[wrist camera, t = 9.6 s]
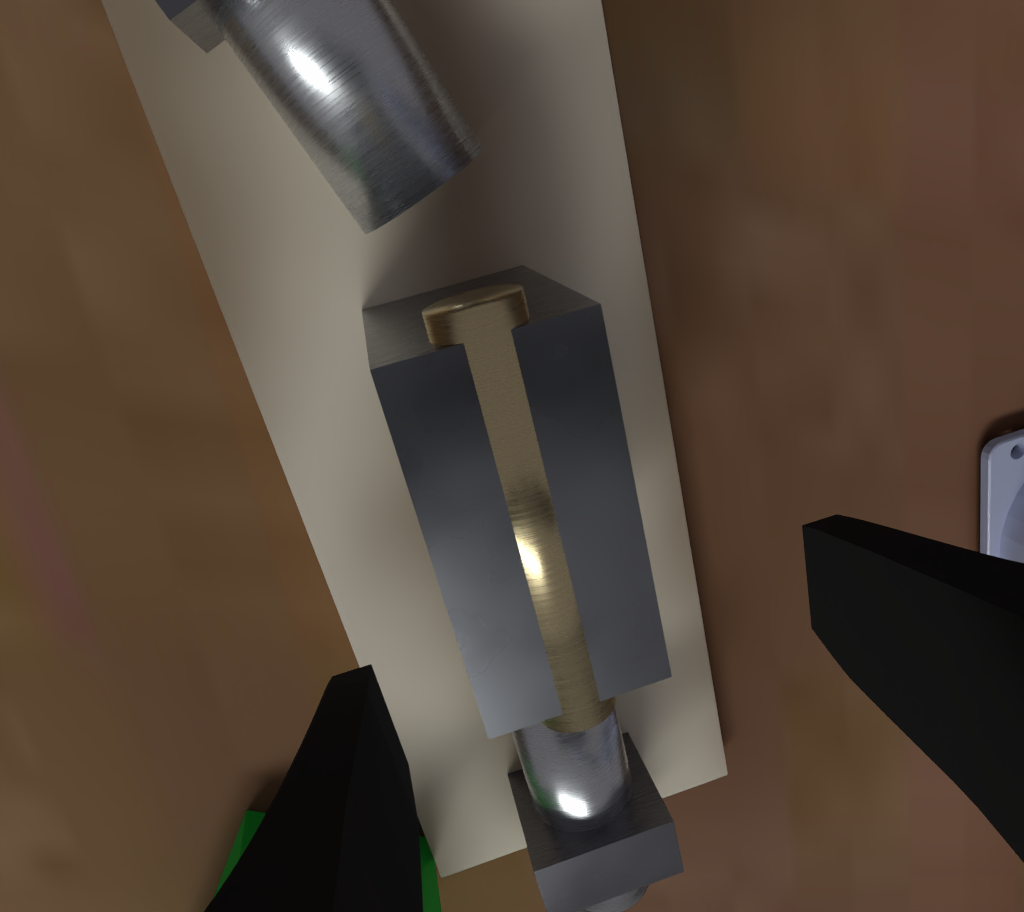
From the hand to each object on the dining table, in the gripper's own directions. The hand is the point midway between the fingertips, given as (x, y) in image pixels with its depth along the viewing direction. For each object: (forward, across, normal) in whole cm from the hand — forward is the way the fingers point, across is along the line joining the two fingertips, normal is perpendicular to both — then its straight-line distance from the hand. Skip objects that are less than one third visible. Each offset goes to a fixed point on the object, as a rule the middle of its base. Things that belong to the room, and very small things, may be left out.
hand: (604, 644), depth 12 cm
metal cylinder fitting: (+9, 0, +10) cm, 14 cm away
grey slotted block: (+8, 0, -1) cm, 9 cm away
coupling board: (+9, 0, -1) cm, 9 cm away
